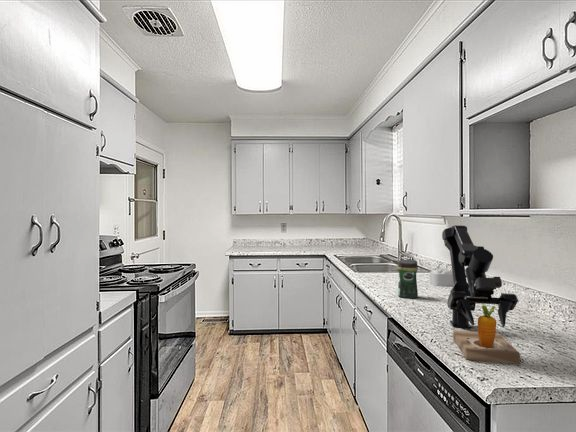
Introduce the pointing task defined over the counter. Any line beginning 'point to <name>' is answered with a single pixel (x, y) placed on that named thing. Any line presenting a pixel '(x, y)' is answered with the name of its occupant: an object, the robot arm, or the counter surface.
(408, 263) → the coffee jar
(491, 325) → the carrot
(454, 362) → the counter surface
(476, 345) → the hole board
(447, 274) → the lumpy-topped squat cylinder
